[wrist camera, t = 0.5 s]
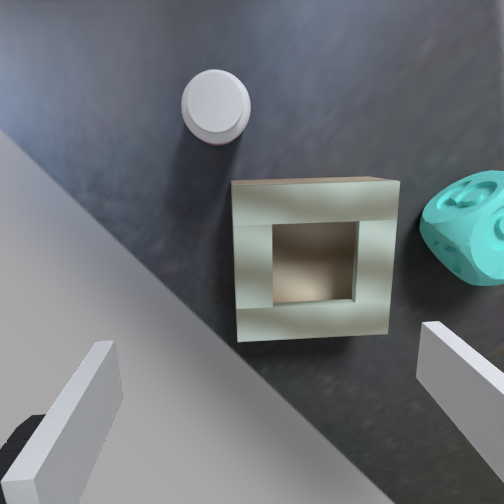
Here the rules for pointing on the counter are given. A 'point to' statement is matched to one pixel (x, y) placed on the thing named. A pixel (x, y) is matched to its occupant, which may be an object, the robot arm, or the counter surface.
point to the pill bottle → (216, 107)
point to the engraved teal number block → (469, 228)
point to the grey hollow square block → (313, 256)
